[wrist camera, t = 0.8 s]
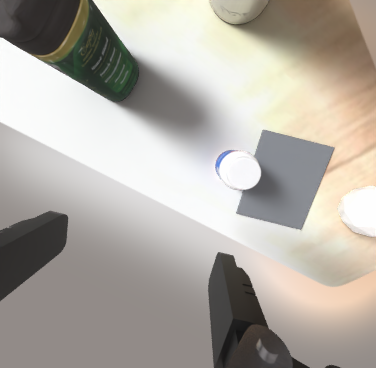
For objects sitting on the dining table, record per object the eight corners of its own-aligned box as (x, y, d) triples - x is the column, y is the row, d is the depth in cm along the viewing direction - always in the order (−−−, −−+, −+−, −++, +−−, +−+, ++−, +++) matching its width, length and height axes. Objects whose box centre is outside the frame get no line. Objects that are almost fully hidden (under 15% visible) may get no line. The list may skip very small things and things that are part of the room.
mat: (262, 129, 29) (263, 129, 29) (332, 147, 30) (334, 147, 29) (236, 212, 32) (236, 213, 32) (299, 228, 33) (300, 229, 32)
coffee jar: (148, 67, 28) (63, -77, 10) (122, 110, 30) (8, 51, 12) (96, 28, 28) (-95, -204, 9) (72, 74, 29) (-133, -50, 11)
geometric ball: (330, 208, 34) (330, 235, 29) (349, 172, 30) (354, 195, 25) (384, 223, 31) (396, 258, 25) (414, 184, 26) (437, 215, 21)
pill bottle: (238, 144, 30) (258, 142, 21) (251, 172, 31) (275, 183, 21) (209, 158, 31) (215, 163, 21) (222, 186, 32) (233, 202, 22)
